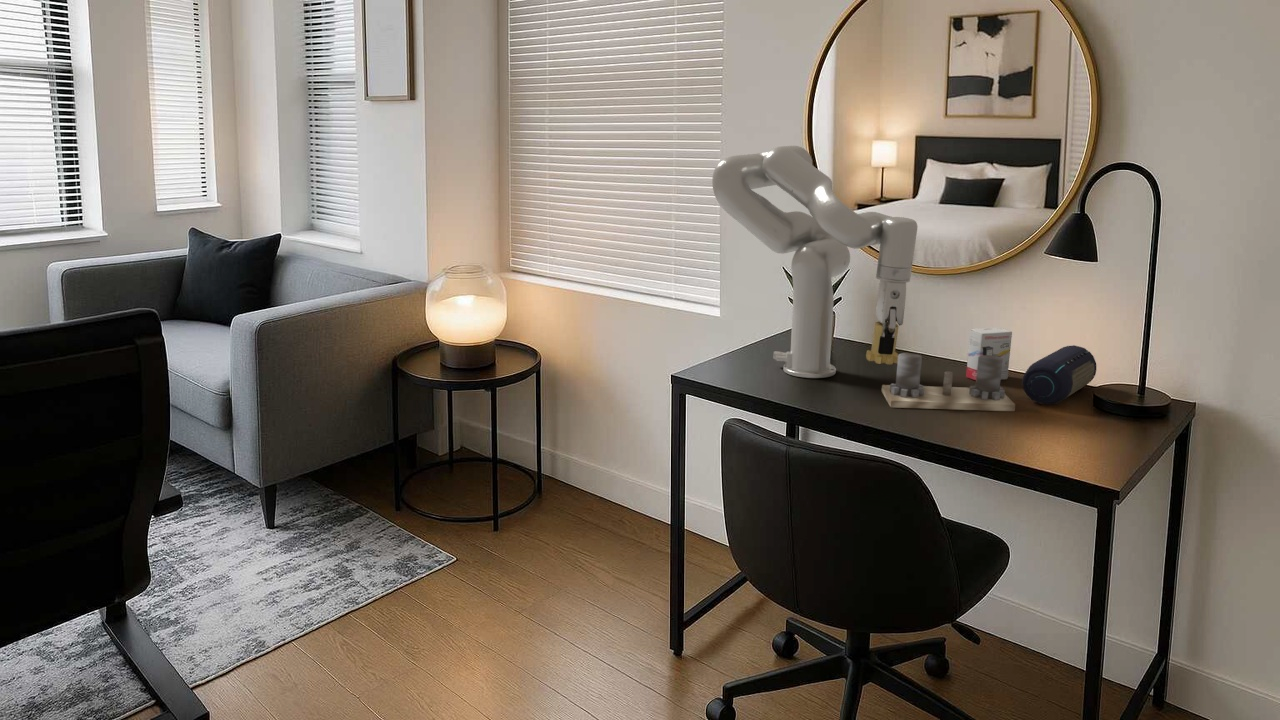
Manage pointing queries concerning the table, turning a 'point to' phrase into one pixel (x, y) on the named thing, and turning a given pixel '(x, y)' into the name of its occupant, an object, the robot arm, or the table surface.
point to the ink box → (988, 348)
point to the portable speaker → (1059, 375)
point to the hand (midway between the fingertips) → (883, 349)
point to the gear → (873, 353)
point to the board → (947, 401)
